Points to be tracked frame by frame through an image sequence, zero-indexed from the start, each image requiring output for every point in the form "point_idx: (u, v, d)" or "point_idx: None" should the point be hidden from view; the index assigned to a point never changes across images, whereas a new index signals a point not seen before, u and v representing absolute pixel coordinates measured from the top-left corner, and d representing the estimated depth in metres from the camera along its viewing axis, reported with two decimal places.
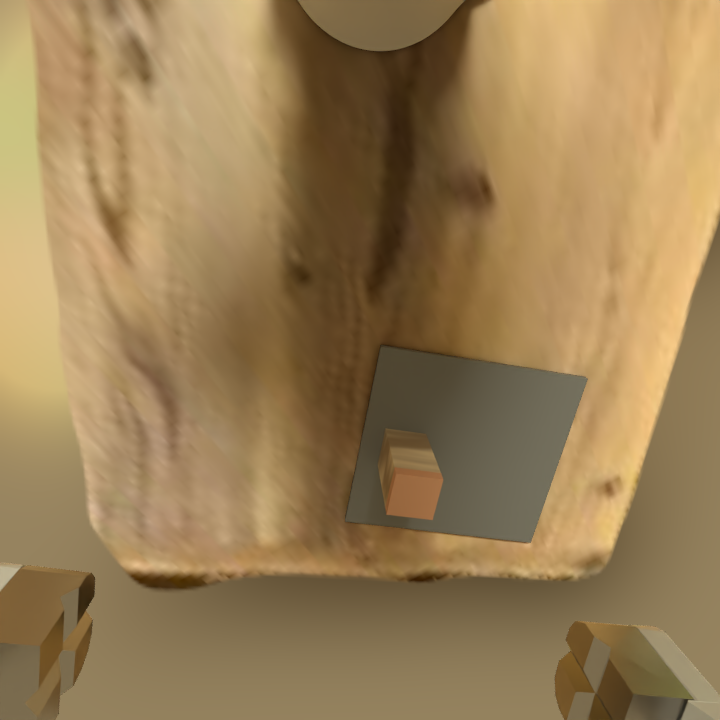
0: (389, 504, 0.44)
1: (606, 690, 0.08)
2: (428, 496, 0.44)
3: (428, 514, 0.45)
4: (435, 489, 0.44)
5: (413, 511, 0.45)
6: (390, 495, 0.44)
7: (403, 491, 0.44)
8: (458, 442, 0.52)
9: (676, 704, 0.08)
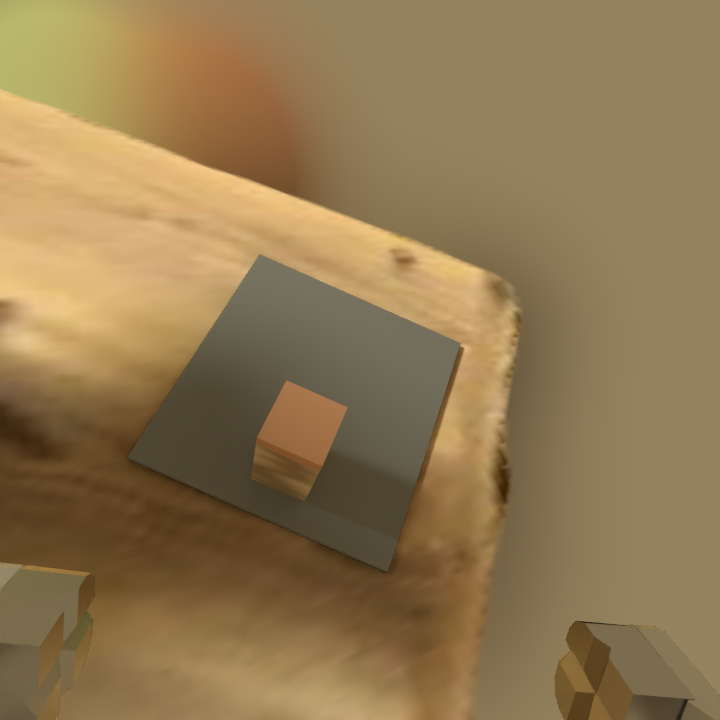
0: (306, 458, 0.30)
1: (607, 691, 0.08)
2: (307, 404, 0.31)
3: (337, 410, 0.32)
4: (298, 393, 0.32)
5: (327, 428, 0.31)
6: (293, 454, 0.30)
7: (289, 434, 0.30)
8: None
9: (676, 704, 0.08)
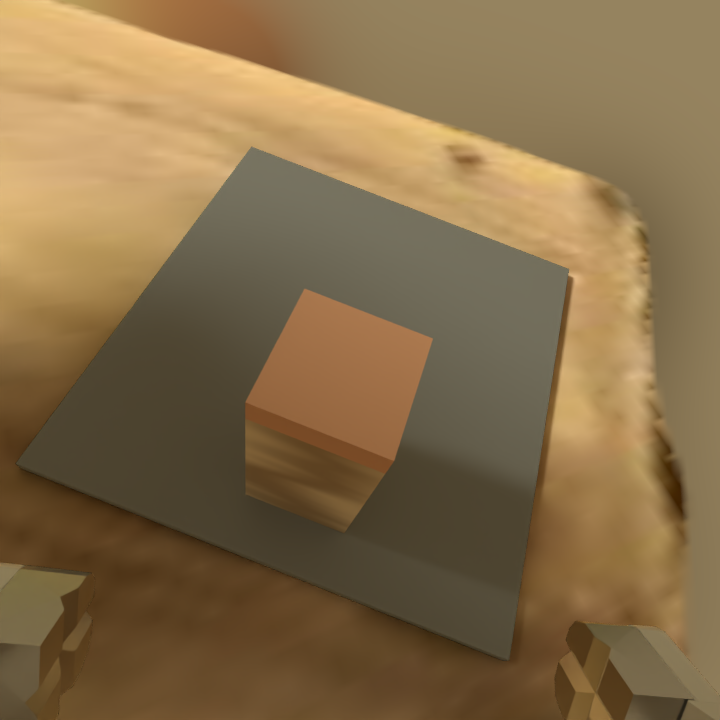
0: (357, 444, 0.13)
1: (607, 690, 0.08)
2: (351, 333, 0.15)
3: (412, 344, 0.15)
4: (331, 312, 0.15)
5: (396, 380, 0.14)
6: (327, 438, 0.13)
7: (317, 394, 0.14)
8: None
9: (676, 704, 0.08)
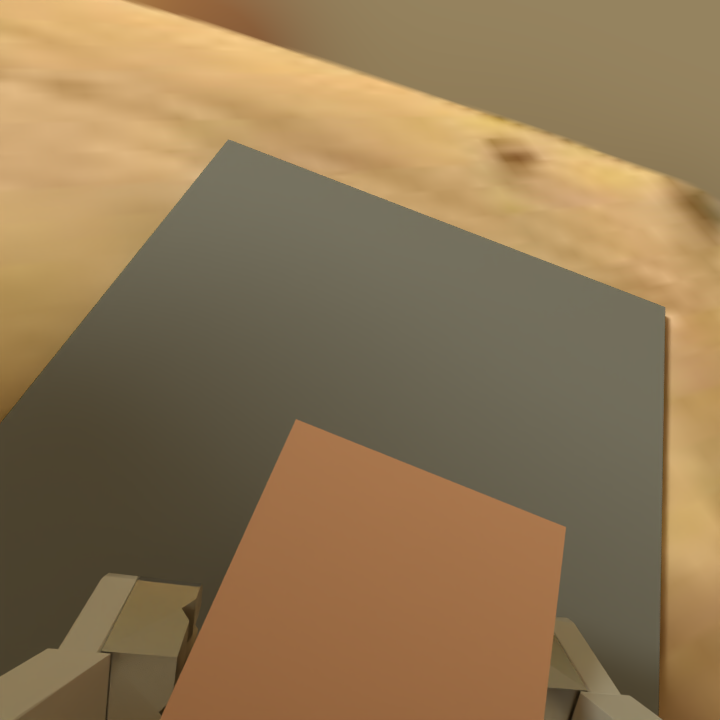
0: None
1: None
2: (396, 526, 0.07)
3: (526, 546, 0.07)
4: (353, 475, 0.07)
5: (502, 648, 0.06)
6: None
7: (323, 713, 0.06)
8: None
9: (569, 695, 0.07)
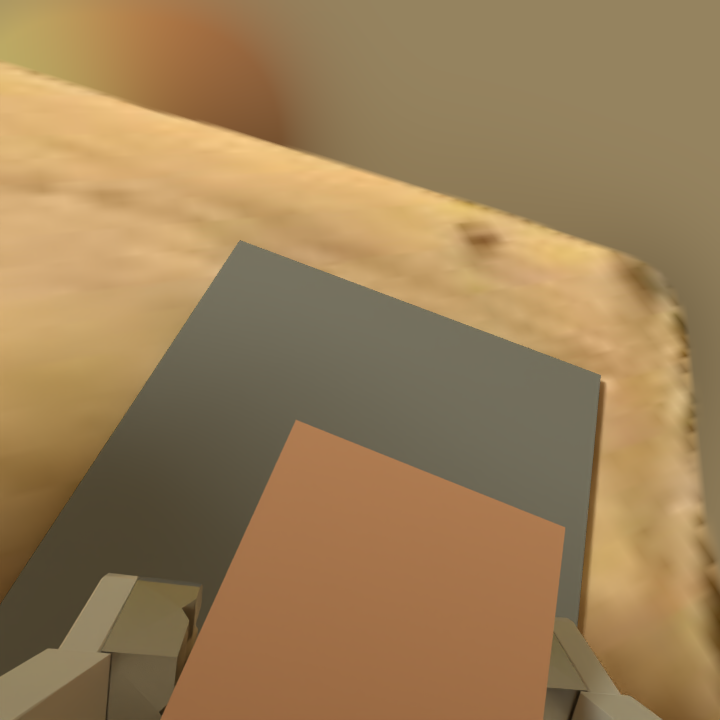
0: None
1: None
2: (396, 527, 0.07)
3: (526, 547, 0.07)
4: (353, 475, 0.07)
5: (502, 649, 0.06)
6: None
7: (323, 713, 0.06)
8: None
9: (569, 695, 0.07)
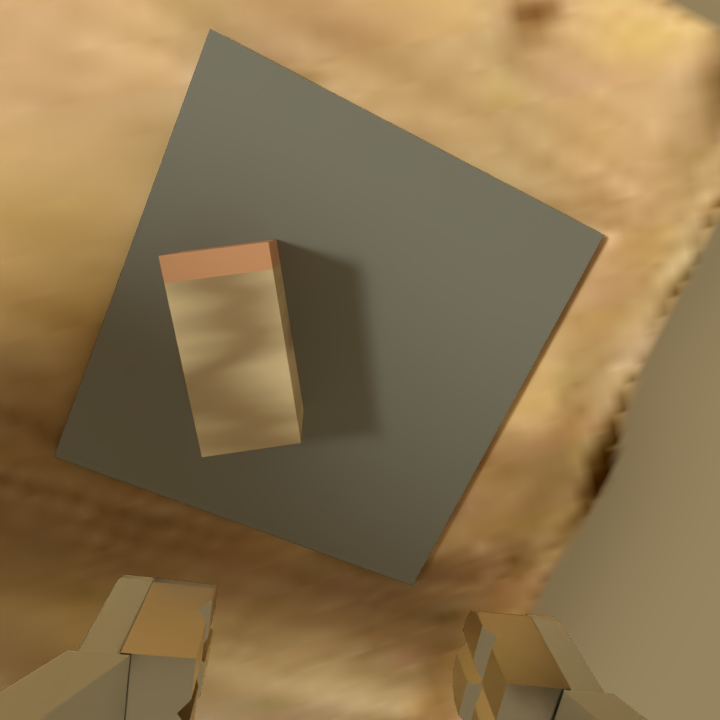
0: (241, 246, 0.19)
1: (488, 680, 0.08)
2: (221, 246, 0.22)
3: None
4: (206, 248, 0.23)
5: None
6: (221, 254, 0.19)
7: (207, 249, 0.20)
8: (299, 350, 0.25)
9: (552, 694, 0.07)
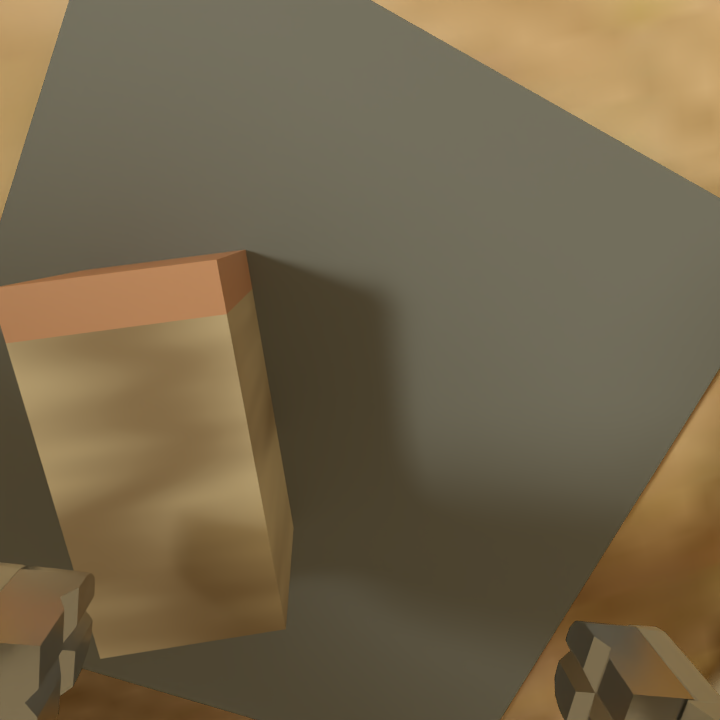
0: (162, 268, 0.10)
1: (606, 690, 0.08)
2: (145, 263, 0.12)
3: (222, 253, 0.13)
4: (119, 266, 0.13)
5: (207, 256, 0.12)
6: (121, 284, 0.10)
7: (101, 272, 0.10)
8: (286, 434, 0.15)
9: (676, 704, 0.08)
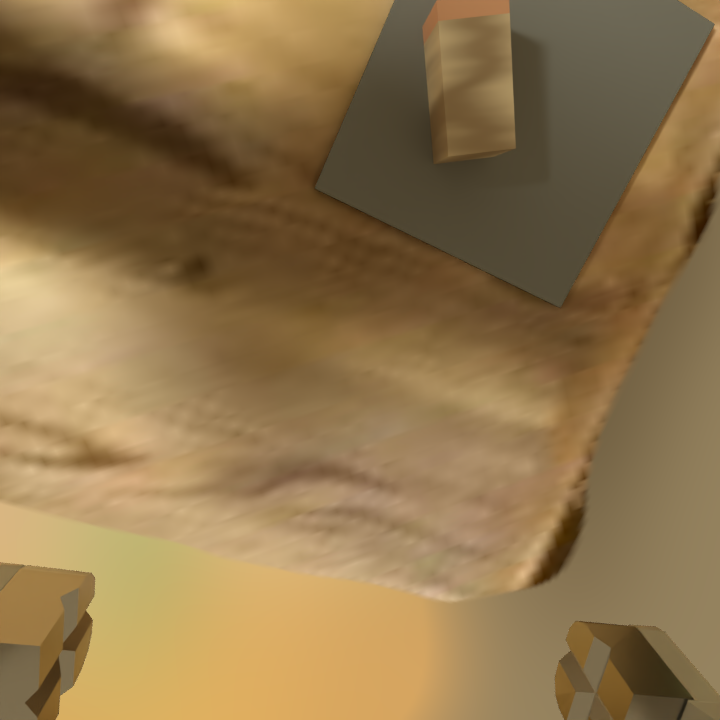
0: None
1: (606, 691, 0.08)
2: None
3: None
4: None
5: None
6: (477, 0, 0.29)
7: None
8: None
9: (676, 704, 0.08)
